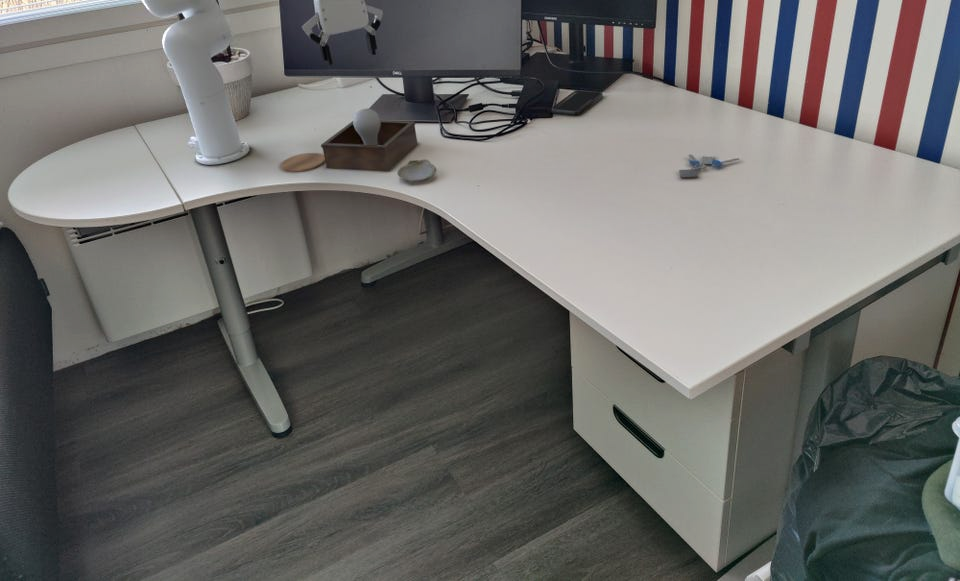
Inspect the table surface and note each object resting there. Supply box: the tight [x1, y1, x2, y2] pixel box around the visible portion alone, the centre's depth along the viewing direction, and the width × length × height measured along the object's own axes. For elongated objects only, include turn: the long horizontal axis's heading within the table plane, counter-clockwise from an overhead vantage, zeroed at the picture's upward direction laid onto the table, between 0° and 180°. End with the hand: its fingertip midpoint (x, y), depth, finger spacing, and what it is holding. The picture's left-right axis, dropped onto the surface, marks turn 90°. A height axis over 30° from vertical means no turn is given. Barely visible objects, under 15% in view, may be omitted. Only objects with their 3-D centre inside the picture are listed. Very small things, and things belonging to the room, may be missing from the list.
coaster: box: [280, 152, 326, 173], centre depth 170 cm, size 10×10×1 cm
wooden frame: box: [320, 119, 418, 172], centre depth 168 cm, size 16×16×6 cm
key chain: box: [678, 154, 740, 178], centre depth 147 cm, size 14×8×1 cm, turn 121°
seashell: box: [397, 159, 437, 183], centre depth 156 cm, size 8×3×8 cm
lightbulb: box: [352, 108, 381, 145], centre depth 167 cm, size 6×6×11 cm
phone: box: [551, 89, 603, 117], centre depth 185 cm, size 8×1×15 cm
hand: (351, 58), depth 158 cm, fingers open, 9 cm apart
